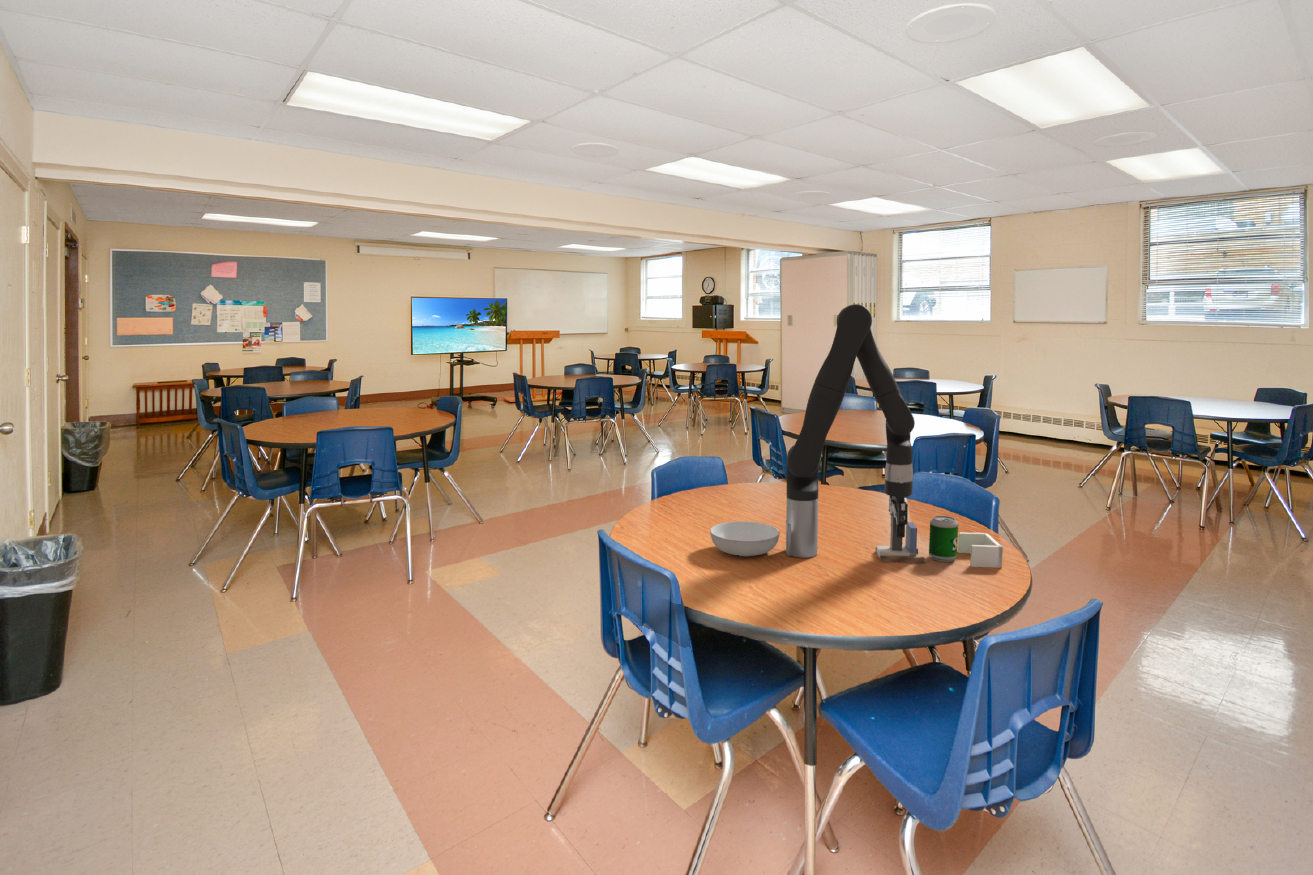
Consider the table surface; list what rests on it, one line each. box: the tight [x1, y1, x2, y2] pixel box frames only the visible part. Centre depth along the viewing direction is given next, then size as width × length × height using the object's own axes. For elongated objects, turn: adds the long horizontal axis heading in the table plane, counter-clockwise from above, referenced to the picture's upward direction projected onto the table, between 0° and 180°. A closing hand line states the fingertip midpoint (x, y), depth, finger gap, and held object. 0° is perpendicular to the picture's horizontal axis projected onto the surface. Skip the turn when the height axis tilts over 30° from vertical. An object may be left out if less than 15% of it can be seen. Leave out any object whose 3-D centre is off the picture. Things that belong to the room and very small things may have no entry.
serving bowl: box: [709, 520, 781, 557], centre depth 203 cm, size 21×21×7 cm
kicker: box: [875, 515, 918, 559], centre depth 195 cm, size 10×6×12 cm, turn 81°
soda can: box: [928, 515, 959, 563], centre depth 193 cm, size 8×8×12 cm
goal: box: [957, 531, 1004, 569], centre depth 192 cm, size 8×13×6 cm, turn 171°
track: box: [875, 546, 926, 564], centre depth 196 cm, size 12×9×2 cm
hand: (897, 532), depth 195 cm, fingers open, 8 cm apart
